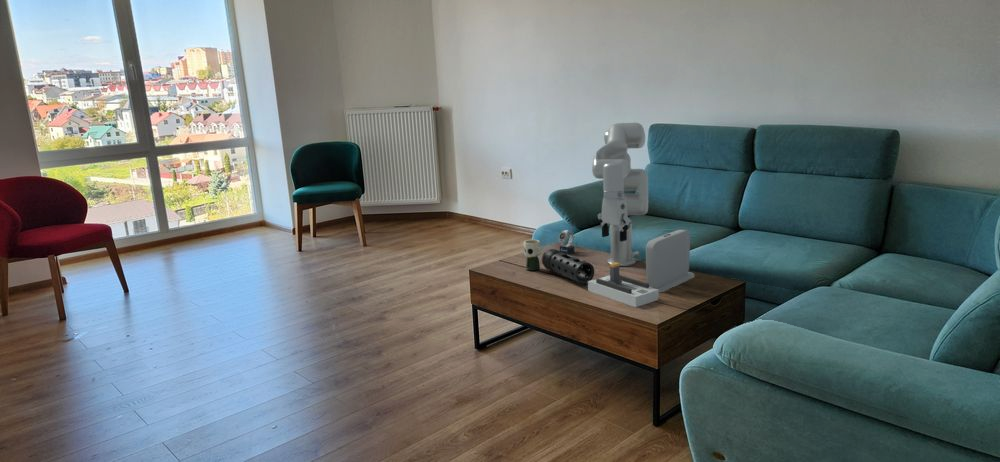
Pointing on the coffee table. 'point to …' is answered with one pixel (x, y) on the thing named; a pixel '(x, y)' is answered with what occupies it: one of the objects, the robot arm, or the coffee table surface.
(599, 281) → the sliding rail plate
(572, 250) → the watch
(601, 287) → the breaker panel
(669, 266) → the wireless router
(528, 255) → the character mug
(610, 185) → the robot arm
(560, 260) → the muzzle brake
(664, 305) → the coffee table surface
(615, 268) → the toggle
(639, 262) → the coffee table surface
